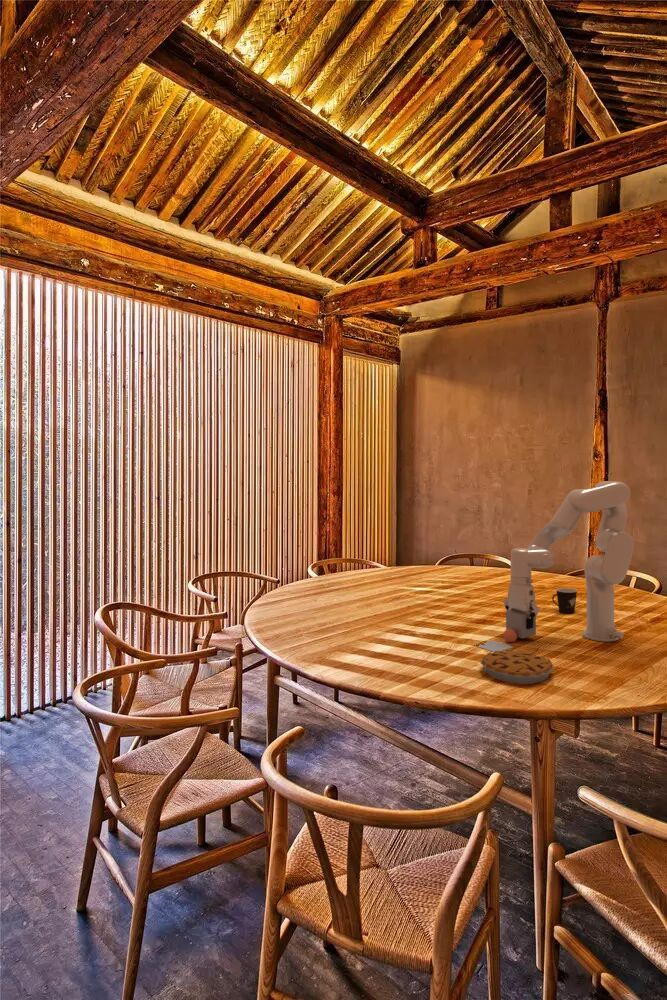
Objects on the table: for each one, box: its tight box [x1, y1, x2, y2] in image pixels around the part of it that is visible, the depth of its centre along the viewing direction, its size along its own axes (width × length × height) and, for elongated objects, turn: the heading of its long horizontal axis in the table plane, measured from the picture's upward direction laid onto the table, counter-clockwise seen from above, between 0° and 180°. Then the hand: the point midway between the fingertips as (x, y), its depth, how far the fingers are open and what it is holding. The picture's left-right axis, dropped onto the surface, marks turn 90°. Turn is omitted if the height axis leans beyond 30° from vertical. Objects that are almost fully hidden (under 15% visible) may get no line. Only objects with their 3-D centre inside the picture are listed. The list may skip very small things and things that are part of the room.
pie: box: [480, 649, 554, 685], centre depth 173 cm, size 22×22×5 cm
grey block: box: [505, 609, 537, 639], centre depth 207 cm, size 8×8×9 cm
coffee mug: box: [551, 587, 578, 615], centre depth 244 cm, size 12×9×10 cm
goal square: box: [474, 639, 515, 653], centre depth 200 cm, size 10×10×1 cm
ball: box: [502, 629, 518, 643], centre depth 204 cm, size 5×5×5 cm
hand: (520, 625), depth 207 cm, fingers closed on grey block, 7 cm apart
